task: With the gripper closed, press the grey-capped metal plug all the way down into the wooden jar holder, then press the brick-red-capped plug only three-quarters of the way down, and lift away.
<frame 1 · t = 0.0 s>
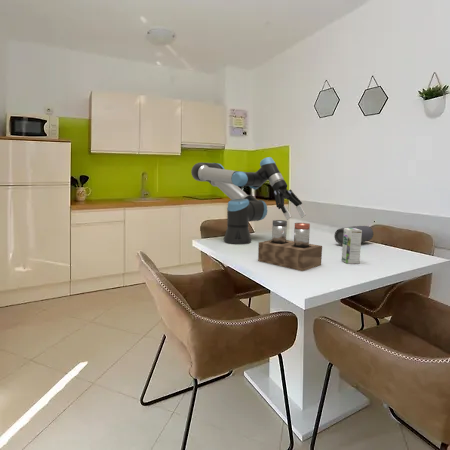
hand: (296, 217, 178), 15 cm above the table, tool tilted 35°, fingers open, 13 cm apart
grey plug: (279, 232, 147), point 12 cm above the table, slide at 0.0 cm
wooden jar holder: (289, 262, 145), on the table
red plug: (301, 235, 139), point 12 cm above the table, slide at 0.0 cm
bluetooth speaker: (353, 244, 189), on the table
syrup box: (350, 262, 148), on the table
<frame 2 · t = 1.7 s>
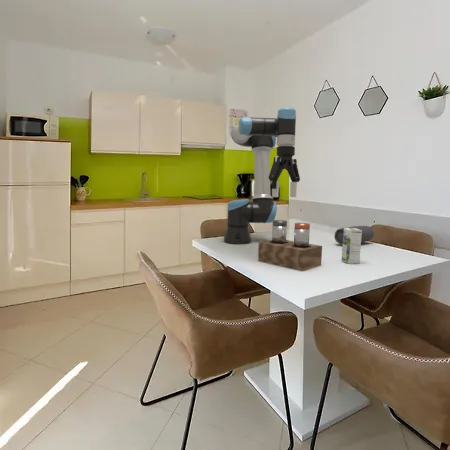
hand: (284, 197, 147), 27 cm above the table, tool pointing down, fingers open, 13 cm apart
nothing on the table moved.
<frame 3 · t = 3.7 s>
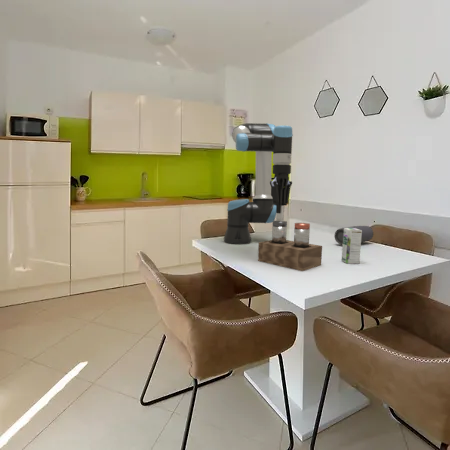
hand: (279, 220, 146), 17 cm above the table, tool pointing down, fingers closed
grey plug: (279, 233, 147), point 12 cm above the table, slide at 0.2 cm, touching gripper
everything else where it was.
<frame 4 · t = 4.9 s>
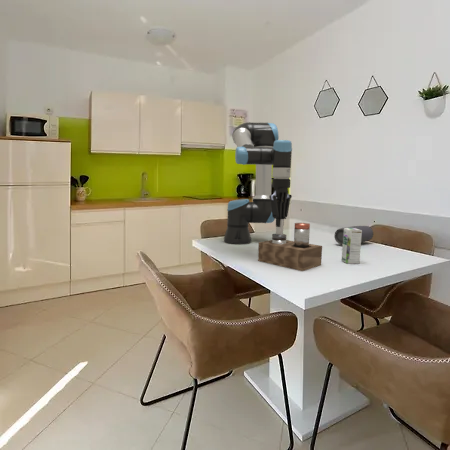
hand: (279, 234, 147), 12 cm above the table, tool pointing down, fingers closed
grey plug: (278, 246, 148), point 6 cm above the table, slide at 5.9 cm, touching gripper
everything else where it was.
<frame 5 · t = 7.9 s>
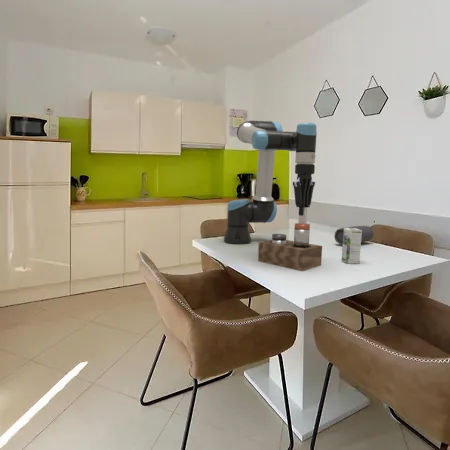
hand: (302, 223, 139), 17 cm above the table, tool pointing down, fingers closed
grey plug: (278, 246, 148), point 6 cm above the table, slide at 6.0 cm
red plug: (301, 236, 139), point 12 cm above the table, slide at 0.2 cm, touching gripper
everything else where it was.
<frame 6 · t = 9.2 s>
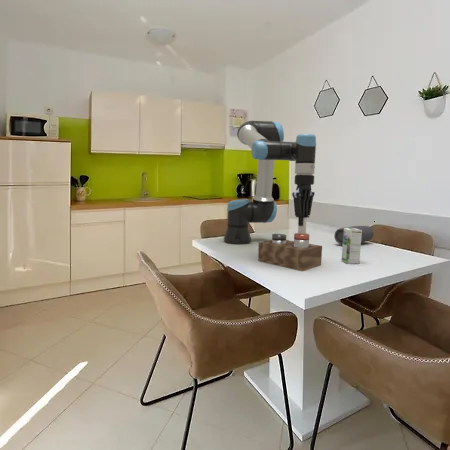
hand: (301, 233, 139), 13 cm above the table, tool pointing down, fingers closed
red plug: (301, 246, 140), point 8 cm above the table, slide at 4.3 cm, touching gripper
everything else where it was.
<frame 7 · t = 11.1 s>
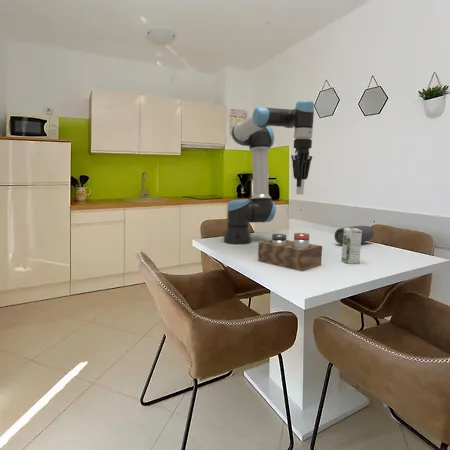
hand: (299, 194, 151), 28 cm above the table, tool pointing down, fingers closed
red plug: (301, 246, 140), point 8 cm above the table, slide at 4.3 cm
everything else where it was.
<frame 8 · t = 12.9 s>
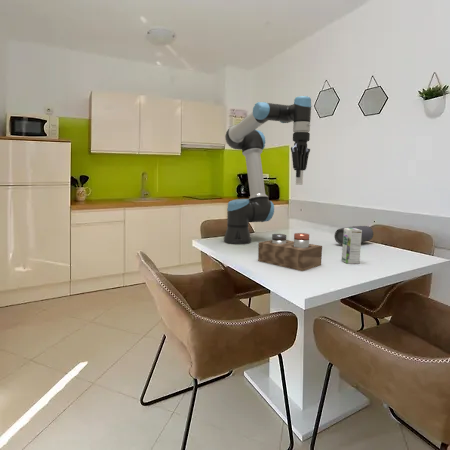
hand: (299, 184, 160), 32 cm above the table, tool pointing down, fingers closed
nothing on the table moved.
at the end: grey plug slide at 6.0 cm; red plug slide at 4.3 cm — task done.
